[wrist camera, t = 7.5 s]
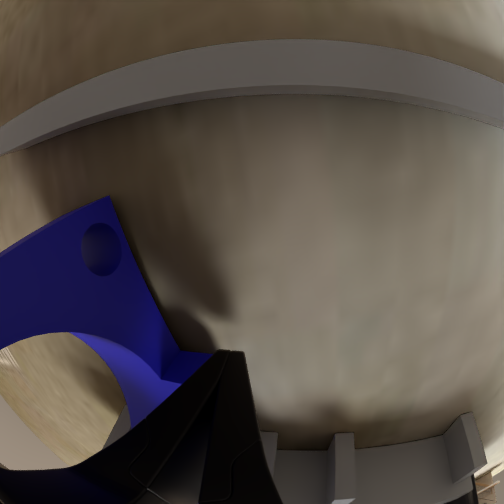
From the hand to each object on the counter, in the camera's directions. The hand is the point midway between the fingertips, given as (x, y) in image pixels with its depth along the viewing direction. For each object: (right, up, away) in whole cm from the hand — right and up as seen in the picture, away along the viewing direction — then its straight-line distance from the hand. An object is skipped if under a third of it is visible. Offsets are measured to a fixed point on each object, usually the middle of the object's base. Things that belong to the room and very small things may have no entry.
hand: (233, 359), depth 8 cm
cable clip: (-3, 0, +2) cm, 3 cm away
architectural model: (+38, -34, +12) cm, 52 cm away
